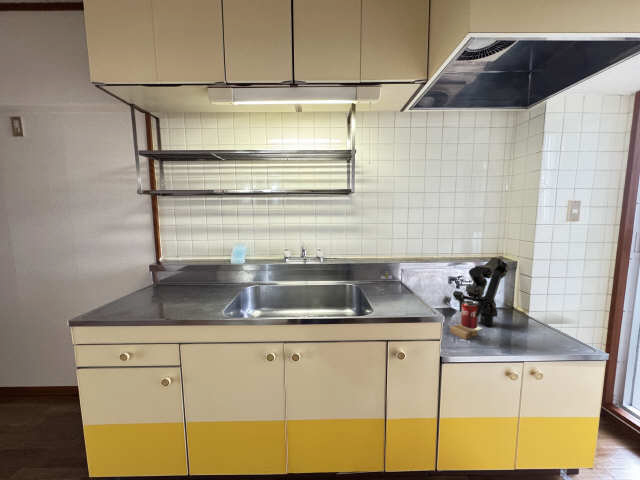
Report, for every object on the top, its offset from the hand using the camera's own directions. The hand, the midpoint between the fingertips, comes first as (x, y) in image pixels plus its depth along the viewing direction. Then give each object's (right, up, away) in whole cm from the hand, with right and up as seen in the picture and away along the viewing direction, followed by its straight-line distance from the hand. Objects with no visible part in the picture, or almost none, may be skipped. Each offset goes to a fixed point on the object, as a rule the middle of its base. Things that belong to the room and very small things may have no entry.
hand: (468, 314), depth 134 cm
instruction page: (+9, -12, +14) cm, 21 cm away
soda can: (+1, -7, +2) cm, 7 cm away
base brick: (+1, -12, +7) cm, 15 cm away
